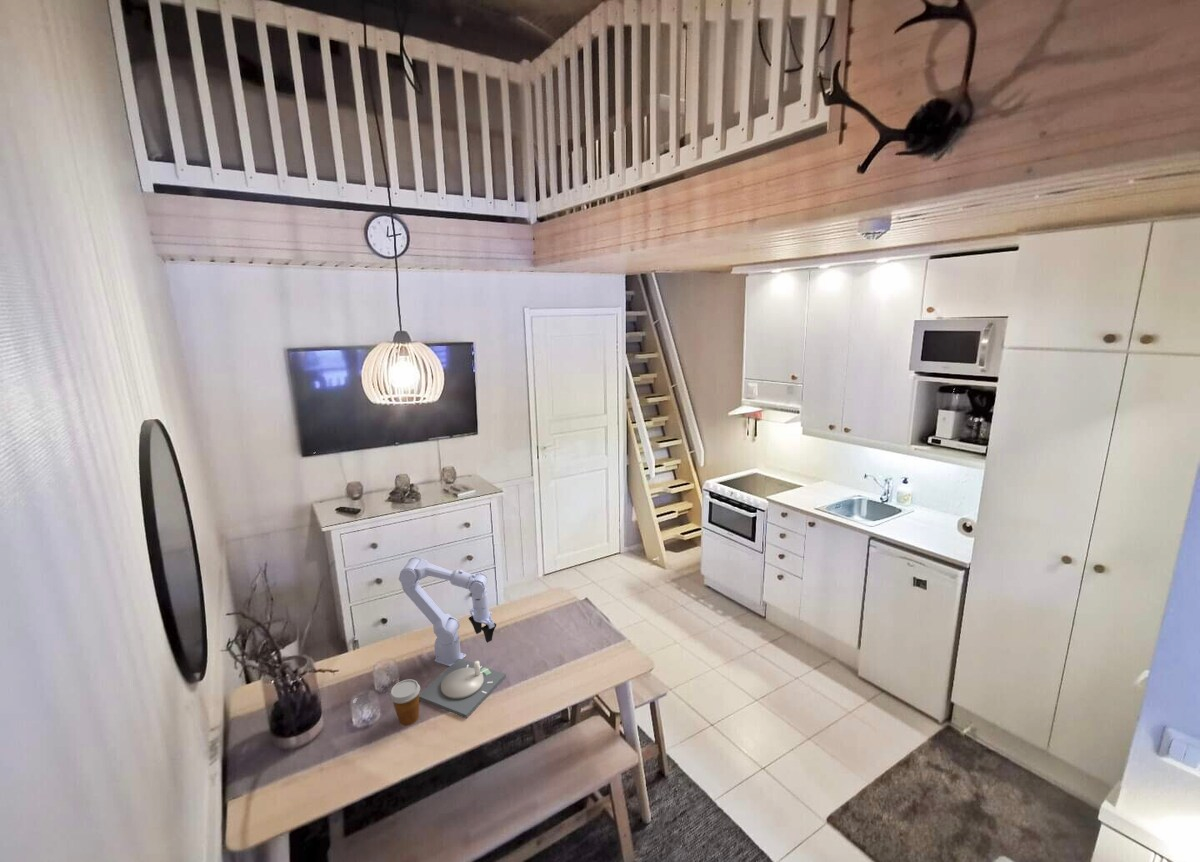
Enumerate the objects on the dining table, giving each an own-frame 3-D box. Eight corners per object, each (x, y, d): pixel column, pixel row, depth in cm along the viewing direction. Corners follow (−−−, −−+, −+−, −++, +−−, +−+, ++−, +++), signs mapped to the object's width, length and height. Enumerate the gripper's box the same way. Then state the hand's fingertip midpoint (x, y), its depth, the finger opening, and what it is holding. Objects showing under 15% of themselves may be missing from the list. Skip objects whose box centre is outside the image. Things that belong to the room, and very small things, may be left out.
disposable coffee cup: (396, 734, 173) (391, 702, 170) (392, 714, 181) (387, 684, 179) (426, 722, 177) (422, 691, 175) (421, 704, 186) (417, 674, 183)
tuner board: (417, 699, 188) (417, 695, 188) (459, 661, 207) (459, 657, 207) (466, 718, 178) (466, 714, 178) (506, 677, 197) (505, 673, 197)
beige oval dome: (450, 705, 182) (448, 690, 181) (435, 681, 194) (433, 667, 193) (497, 682, 192) (496, 668, 191) (480, 661, 204) (478, 647, 203)
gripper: (500, 608, 201) (502, 640, 204) (479, 594, 211) (482, 624, 214) (483, 616, 196) (487, 648, 199) (463, 601, 206) (467, 632, 210)
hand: (483, 636), depth 207 cm, fingers open, 7 cm apart
